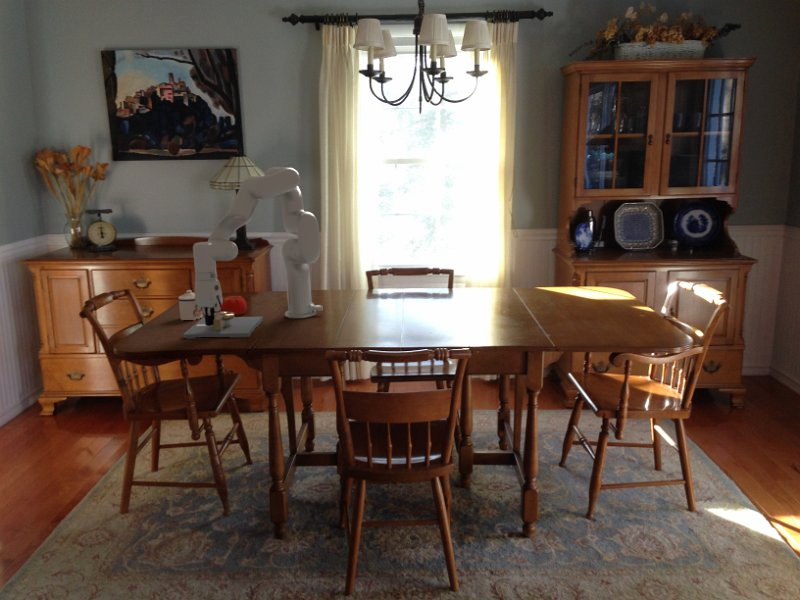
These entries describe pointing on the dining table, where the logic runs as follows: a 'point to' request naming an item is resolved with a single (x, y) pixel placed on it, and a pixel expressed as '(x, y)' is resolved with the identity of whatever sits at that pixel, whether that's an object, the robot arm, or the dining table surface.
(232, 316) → the lock handle
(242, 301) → the tomato
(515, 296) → the dining table surface
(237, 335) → the base
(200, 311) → the teacup with lid
